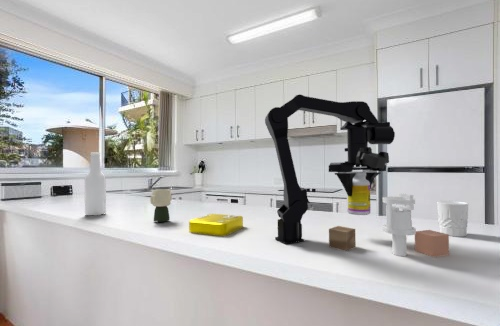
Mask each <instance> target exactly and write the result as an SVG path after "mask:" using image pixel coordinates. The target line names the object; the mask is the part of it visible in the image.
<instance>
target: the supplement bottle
mask: <svg viewBox="0 0 500 326" xmlns="http://www.w3.org/2000/svg"><path fill="white" fill-rule="evenodd" d="M353 173H356V175H355V176H354V178H353V187H352V196H348V195H347V194H346V212H347V213H348V214H350V215H354V216H368V215H370V214H371V188H370V182H369V181H368V180H366V172H363V171H362V170H353Z"/></svg>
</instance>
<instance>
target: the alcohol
mask: <svg viewBox="0 0 500 326" xmlns="http://www.w3.org/2000/svg"><path fill="white" fill-rule="evenodd" d="M100 154H101V153H100V152H95V151H94V152H90V160H89V161H90V162H89V171H88V172H87V174H85V176H84V215H85V216H86V215H98V216H101V215H100V214H103V215H105V214H106V213H107V193H106V191H107V189H106V188H107V183H106V182H107V181H106V175H105V174H104V173H103V171H102V168H101V159H100V156H101V155H100ZM104 213H105V214H104Z"/></svg>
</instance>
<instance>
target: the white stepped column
mask: <svg viewBox="0 0 500 326" xmlns="http://www.w3.org/2000/svg"><path fill="white" fill-rule="evenodd" d="M382 203H384V204H385V216H386V217H385V220H386V222H385V224H384V225H382V228H383V229H382V232H384V233H387V234H391V235H392V236H391V240H392V241H391V244H392V249H391V250H392V253H391V254H393V255H395V256H399V257H407V255H408V253H407V236H415V234H416V231H417V230H416V229H417V228H416V227H414V226H413V221H412V220H413V219H412V211H413V210H415V209H414V205H416V198H414V195H413V194H407V193H400V194H399V196H382ZM396 205H402V206H399V207H396Z"/></svg>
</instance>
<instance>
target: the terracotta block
mask: <svg viewBox="0 0 500 326" xmlns="http://www.w3.org/2000/svg"><path fill="white" fill-rule="evenodd" d="M449 241H450V238H449V234H444V233H440V231H435V230H432V229H426V230H416V234H415V235H414V251H416V252H418V253H420V254H425V255H427V256H430V257H433V258H435V257H436V258H437V257H444V256H449V255H450V243H449Z"/></svg>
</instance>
